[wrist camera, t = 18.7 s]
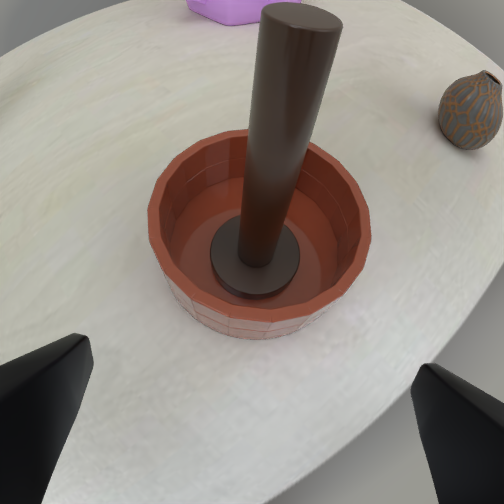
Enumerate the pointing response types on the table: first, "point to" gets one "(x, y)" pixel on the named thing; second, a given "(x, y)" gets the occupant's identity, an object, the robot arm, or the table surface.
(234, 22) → the teakettle
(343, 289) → the bowl
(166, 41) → the table surface
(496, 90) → the vase
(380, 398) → the table surface
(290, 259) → the dark brown rod
